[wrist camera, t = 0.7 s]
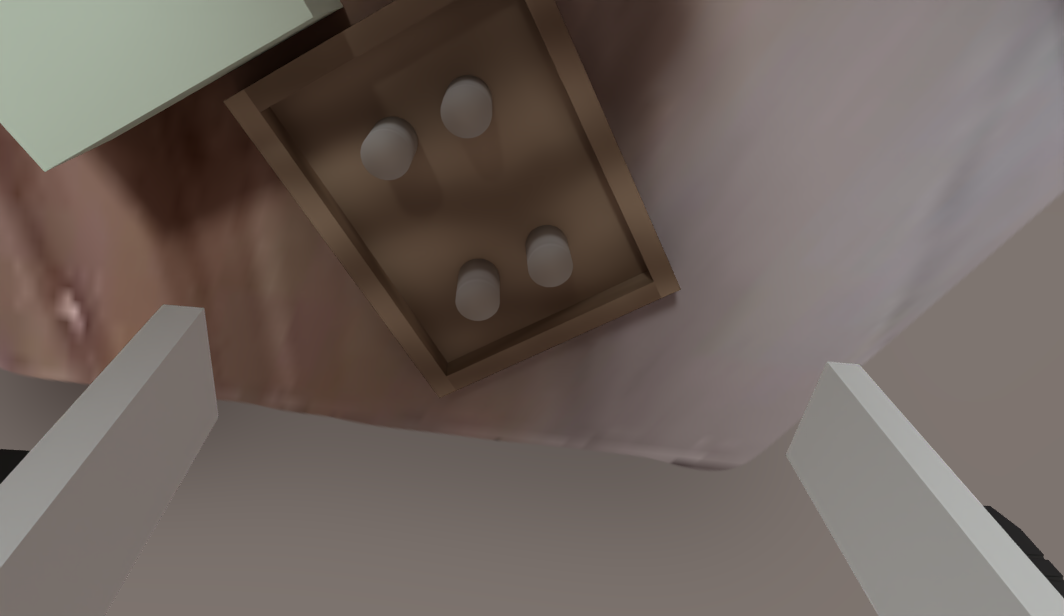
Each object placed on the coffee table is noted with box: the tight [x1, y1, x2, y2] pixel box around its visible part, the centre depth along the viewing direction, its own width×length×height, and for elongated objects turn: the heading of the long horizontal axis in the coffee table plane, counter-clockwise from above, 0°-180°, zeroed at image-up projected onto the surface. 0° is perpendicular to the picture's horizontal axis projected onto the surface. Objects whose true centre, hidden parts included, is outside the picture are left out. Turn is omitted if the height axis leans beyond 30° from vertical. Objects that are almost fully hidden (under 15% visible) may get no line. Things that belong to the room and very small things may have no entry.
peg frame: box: [223, 0, 681, 398], centre depth 34 cm, size 20×16×4 cm
